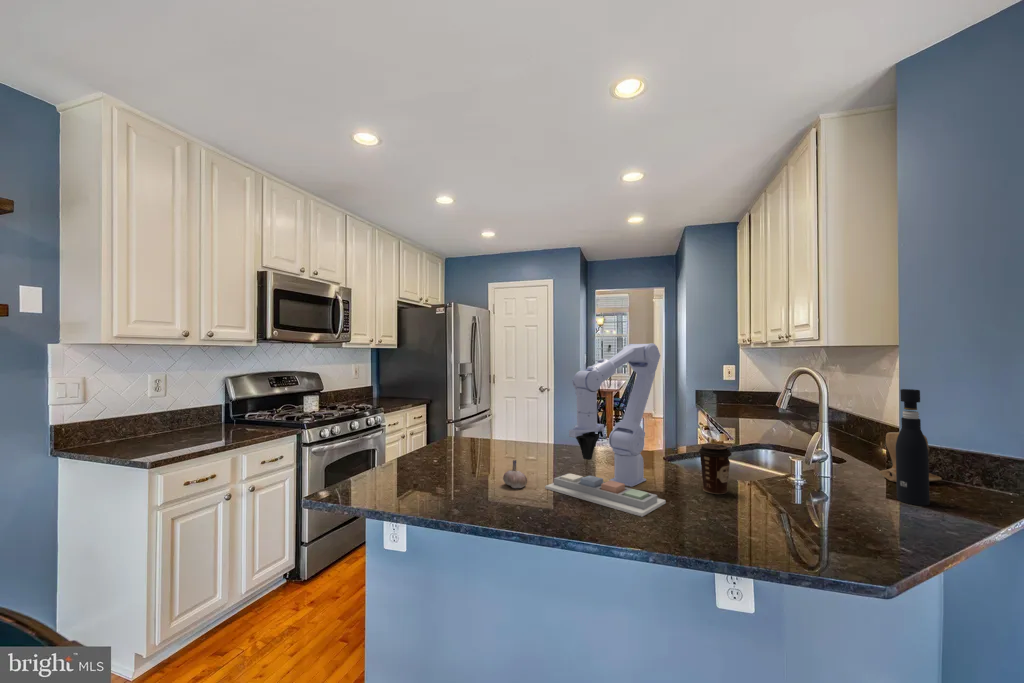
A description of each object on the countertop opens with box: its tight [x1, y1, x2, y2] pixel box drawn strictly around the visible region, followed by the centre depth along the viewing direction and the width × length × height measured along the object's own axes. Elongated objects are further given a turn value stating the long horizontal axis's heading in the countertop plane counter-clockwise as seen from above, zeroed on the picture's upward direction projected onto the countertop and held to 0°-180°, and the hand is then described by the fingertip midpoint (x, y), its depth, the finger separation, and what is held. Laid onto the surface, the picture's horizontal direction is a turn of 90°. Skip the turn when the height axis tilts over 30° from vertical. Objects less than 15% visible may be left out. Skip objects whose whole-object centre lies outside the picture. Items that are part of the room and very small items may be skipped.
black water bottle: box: [895, 388, 931, 507], centre depth 114 cm, size 6×6×30 cm
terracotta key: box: [601, 479, 626, 494], centre depth 117 cm, size 5×5×2 cm
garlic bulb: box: [502, 459, 528, 489], centre depth 128 cm, size 8×7×8 cm
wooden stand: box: [879, 431, 943, 483], centre depth 133 cm, size 15×12×15 cm
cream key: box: [561, 473, 584, 483], centre depth 127 cm, size 5×5×2 cm
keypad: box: [544, 473, 667, 518], centre depth 120 cm, size 13×31×3 cm, turn 45°
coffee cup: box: [698, 443, 732, 495], centre depth 123 cm, size 9×8×13 cm
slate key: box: [580, 475, 604, 488], centre depth 122 cm, size 5×5×2 cm
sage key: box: [624, 488, 650, 500], centre depth 112 cm, size 5×5×2 cm
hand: (587, 458), depth 123 cm, fingers closed
